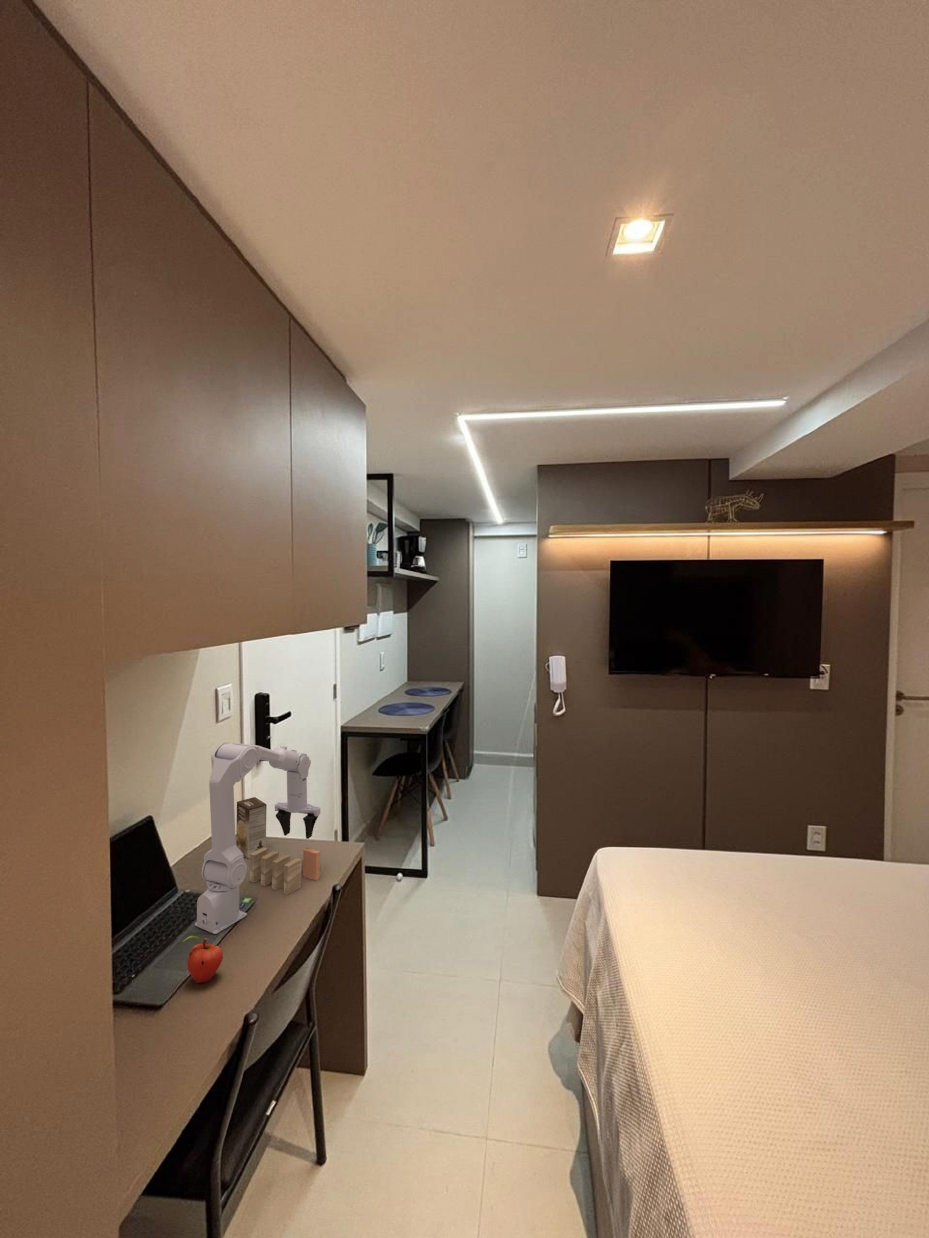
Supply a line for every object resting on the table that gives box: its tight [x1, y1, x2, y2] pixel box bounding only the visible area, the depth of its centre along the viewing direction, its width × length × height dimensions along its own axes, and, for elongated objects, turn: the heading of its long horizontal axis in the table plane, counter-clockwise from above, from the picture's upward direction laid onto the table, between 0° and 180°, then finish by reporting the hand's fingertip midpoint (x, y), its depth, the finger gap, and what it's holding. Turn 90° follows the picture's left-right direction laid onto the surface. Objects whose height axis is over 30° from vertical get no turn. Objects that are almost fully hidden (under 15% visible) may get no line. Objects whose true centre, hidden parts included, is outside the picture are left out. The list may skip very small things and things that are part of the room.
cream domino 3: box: [271, 854, 291, 892], centre depth 153 cm, size 2×5×8 cm, turn 152°
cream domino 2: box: [260, 850, 280, 887], centre depth 155 cm, size 2×5×8 cm, turn 152°
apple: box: [181, 935, 224, 984], centre depth 114 cm, size 8×7×10 cm
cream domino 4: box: [283, 857, 303, 896], centre depth 151 cm, size 2×5×8 cm, turn 152°
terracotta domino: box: [302, 847, 321, 881], centre depth 159 cm, size 2×5×8 cm, turn 62°
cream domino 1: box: [249, 847, 269, 883], centre depth 157 cm, size 2×5×8 cm, turn 152°
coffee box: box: [235, 796, 268, 859], centre depth 175 cm, size 9×6×16 cm
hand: (297, 835), depth 163 cm, fingers open, 7 cm apart
